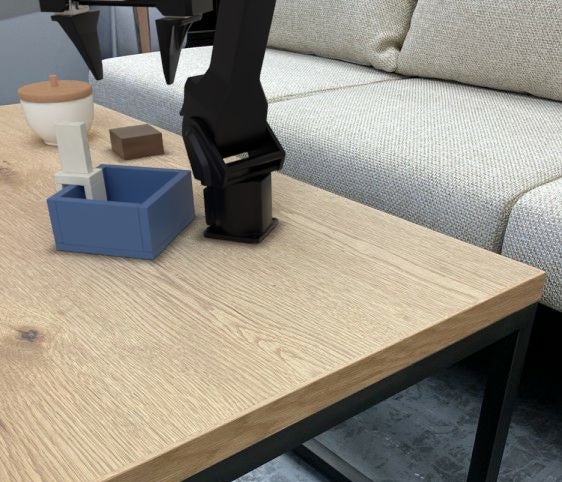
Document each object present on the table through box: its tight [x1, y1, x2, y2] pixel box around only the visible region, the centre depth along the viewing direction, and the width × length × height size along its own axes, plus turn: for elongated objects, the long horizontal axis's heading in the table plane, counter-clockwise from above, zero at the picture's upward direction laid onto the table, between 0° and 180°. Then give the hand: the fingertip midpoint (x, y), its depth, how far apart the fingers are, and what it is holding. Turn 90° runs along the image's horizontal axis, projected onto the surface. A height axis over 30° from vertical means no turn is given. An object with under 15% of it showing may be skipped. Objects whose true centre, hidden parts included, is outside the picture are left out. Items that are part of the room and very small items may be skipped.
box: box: [46, 163, 196, 261], centre depth 75 cm, size 11×12×6 cm
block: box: [108, 123, 165, 161], centre depth 102 cm, size 6×6×3 cm
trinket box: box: [17, 74, 95, 147], centre depth 106 cm, size 11×11×9 cm
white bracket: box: [53, 121, 107, 201], centre depth 74 cm, size 4×3×10 cm
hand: (134, 82), depth 81 cm, fingers open, 9 cm apart
